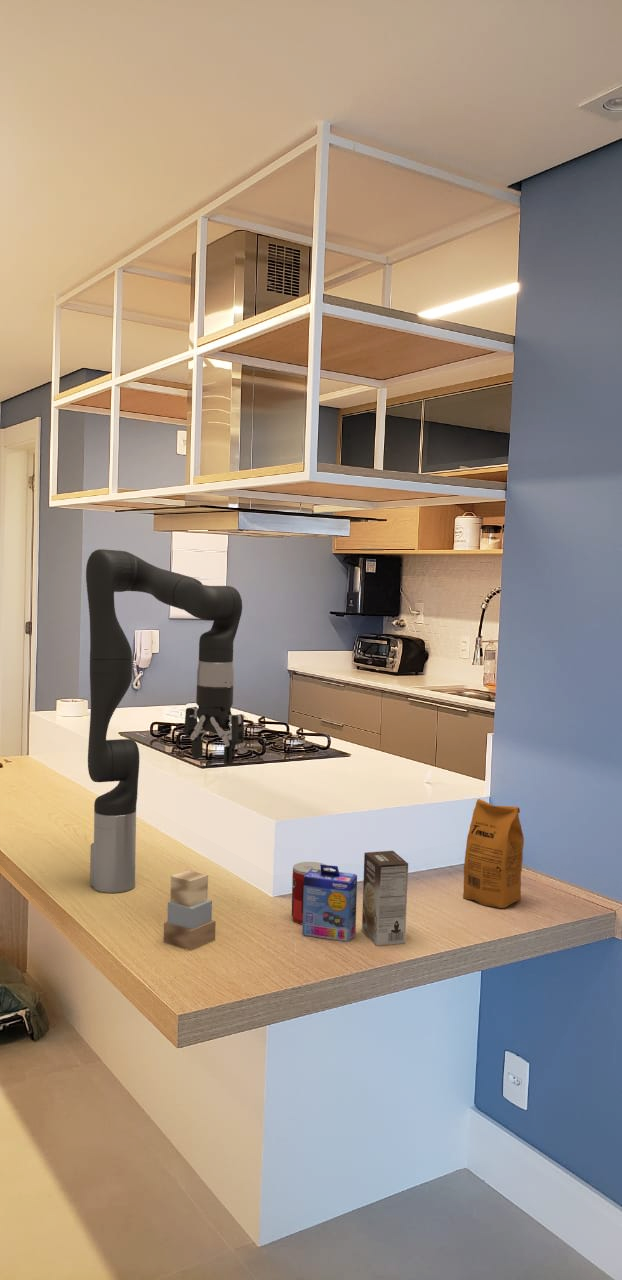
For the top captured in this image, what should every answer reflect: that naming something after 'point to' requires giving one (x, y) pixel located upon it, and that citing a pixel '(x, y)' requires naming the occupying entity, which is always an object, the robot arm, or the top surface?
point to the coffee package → (494, 856)
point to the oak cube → (189, 888)
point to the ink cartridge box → (329, 904)
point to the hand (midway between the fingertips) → (212, 760)
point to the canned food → (300, 887)
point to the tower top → (189, 914)
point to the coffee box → (384, 897)
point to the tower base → (189, 935)
